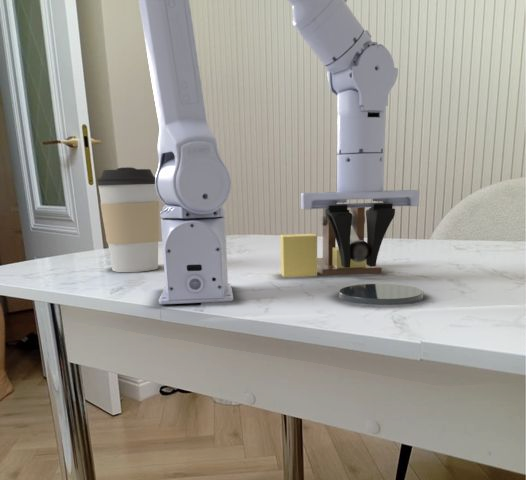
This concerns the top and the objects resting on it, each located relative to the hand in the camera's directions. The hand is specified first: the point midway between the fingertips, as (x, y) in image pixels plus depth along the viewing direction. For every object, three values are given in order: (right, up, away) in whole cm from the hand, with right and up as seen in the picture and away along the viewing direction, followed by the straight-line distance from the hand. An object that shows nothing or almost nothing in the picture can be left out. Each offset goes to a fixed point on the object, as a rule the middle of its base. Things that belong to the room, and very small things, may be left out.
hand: (358, 266), depth 76 cm
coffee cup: (-32, +2, +15) cm, 35 cm away
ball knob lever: (-1, +4, +4) cm, 6 cm away
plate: (+1, -5, -11) cm, 12 cm away
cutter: (-1, +1, +9) cm, 9 cm away
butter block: (0, +1, +5) cm, 5 cm away
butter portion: (-7, -1, +5) cm, 9 cm away
